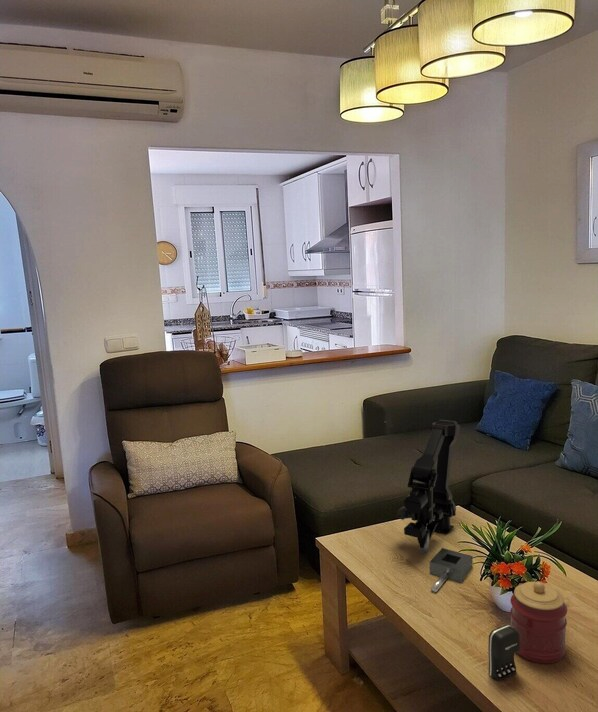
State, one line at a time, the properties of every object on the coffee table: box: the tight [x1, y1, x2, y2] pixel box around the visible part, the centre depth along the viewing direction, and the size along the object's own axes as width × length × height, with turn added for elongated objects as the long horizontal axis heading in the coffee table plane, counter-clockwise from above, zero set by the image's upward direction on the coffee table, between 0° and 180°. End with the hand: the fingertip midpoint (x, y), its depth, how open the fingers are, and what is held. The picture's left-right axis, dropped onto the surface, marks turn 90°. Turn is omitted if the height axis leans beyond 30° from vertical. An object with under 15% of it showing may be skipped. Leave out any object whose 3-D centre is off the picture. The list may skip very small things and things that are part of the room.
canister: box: [510, 580, 568, 665], centre depth 144 cm, size 13×13×18 cm
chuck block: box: [429, 547, 474, 594], centre depth 178 cm, size 19×10×4 cm, turn 145°
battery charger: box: [488, 624, 520, 681], centre depth 136 cm, size 7×4×11 cm, turn 116°
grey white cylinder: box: [418, 527, 430, 555], centre depth 194 cm, size 3×3×8 cm
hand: (424, 545), depth 194 cm, fingers closed on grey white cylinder, 3 cm apart
